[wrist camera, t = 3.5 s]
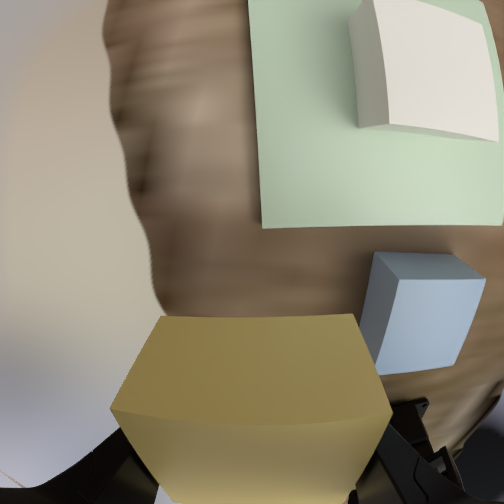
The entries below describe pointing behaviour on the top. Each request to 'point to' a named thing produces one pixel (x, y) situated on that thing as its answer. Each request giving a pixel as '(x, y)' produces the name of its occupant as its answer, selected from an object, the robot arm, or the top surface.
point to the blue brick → (418, 310)
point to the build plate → (356, 132)
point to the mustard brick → (254, 408)
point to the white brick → (422, 71)
